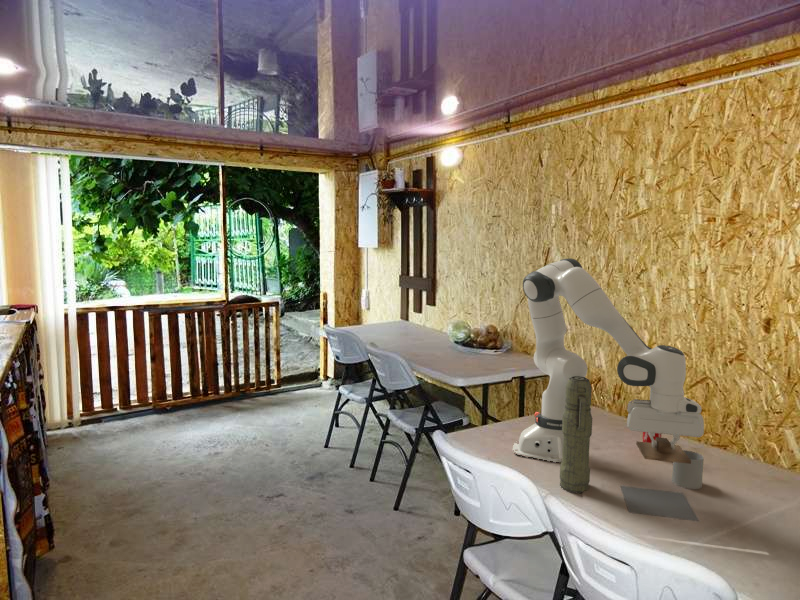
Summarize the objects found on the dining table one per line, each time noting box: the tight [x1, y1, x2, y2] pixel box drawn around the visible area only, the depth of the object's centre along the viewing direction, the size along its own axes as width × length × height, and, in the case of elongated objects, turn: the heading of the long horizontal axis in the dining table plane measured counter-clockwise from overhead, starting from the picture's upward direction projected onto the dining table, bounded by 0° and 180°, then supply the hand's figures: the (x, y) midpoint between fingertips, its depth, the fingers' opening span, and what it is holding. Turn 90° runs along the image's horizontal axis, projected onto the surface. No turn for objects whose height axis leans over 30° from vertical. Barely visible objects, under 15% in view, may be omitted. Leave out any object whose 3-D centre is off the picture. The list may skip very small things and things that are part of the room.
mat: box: [619, 485, 700, 522], centre depth 159 cm, size 18×18×1 cm
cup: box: [671, 449, 705, 490], centre depth 172 cm, size 8×8×10 cm
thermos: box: [559, 376, 593, 494], centre depth 168 cm, size 9×12×35 cm
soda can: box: [641, 432, 662, 443], centre depth 197 cm, size 6×6×12 cm
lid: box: [635, 437, 691, 464], centre depth 158 cm, size 12×12×4 cm
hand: (662, 447), depth 158 cm, fingers closed on lid, 3 cm apart
